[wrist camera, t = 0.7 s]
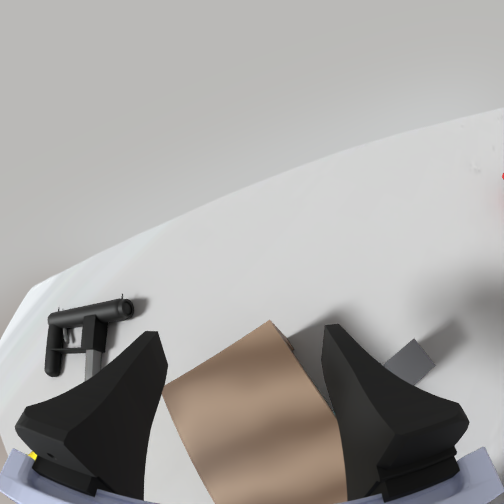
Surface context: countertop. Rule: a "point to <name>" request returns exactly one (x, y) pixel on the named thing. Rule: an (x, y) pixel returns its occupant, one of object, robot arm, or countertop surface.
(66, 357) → the countertop surface
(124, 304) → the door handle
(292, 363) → the low wooden table
